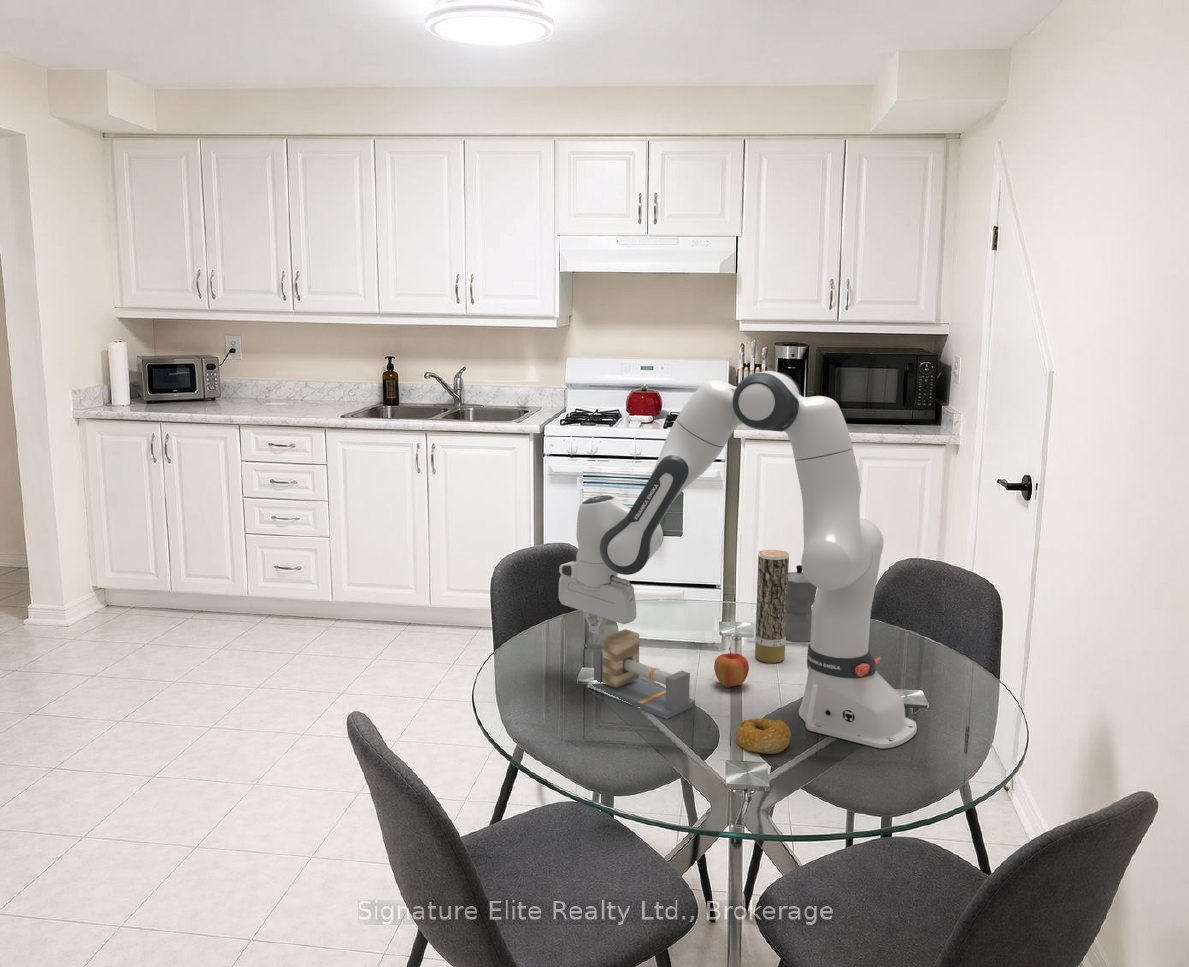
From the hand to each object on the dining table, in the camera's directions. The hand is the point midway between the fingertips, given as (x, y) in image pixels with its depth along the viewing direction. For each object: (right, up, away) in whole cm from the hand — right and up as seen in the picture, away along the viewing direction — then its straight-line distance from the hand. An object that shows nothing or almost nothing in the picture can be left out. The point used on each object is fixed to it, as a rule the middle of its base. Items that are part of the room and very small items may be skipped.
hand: (596, 633), depth 205 cm
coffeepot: (+50, -6, +29) cm, 58 cm away
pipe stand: (+9, -12, -7) cm, 17 cm away
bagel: (+31, -17, -27) cm, 44 cm away
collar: (+5, -9, -3) cm, 11 cm away
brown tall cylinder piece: (+40, -8, +15) cm, 43 cm away
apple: (+29, -11, -1) cm, 31 cm away
